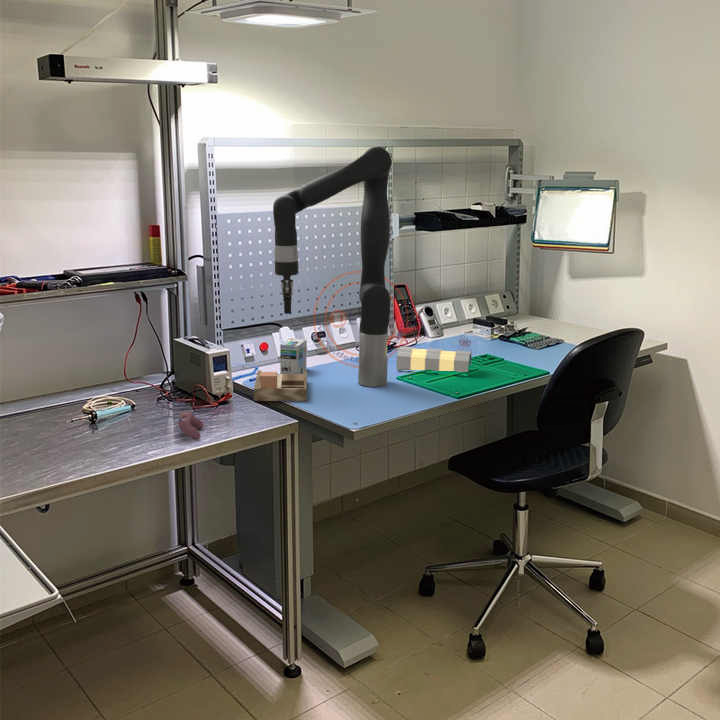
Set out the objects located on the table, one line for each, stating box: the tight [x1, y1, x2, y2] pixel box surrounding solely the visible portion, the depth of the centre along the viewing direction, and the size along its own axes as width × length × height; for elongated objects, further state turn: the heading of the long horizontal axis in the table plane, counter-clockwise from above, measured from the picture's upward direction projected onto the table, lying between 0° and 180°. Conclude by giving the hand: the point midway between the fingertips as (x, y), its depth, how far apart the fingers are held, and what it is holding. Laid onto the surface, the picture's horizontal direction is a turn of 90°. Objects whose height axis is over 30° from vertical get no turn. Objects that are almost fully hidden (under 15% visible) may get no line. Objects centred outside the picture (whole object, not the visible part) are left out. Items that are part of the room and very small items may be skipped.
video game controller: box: [177, 410, 204, 440], centre depth 214 cm, size 10×5×7 cm, turn 5°
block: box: [260, 371, 278, 388], centre depth 247 cm, size 5×5×5 cm
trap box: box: [253, 370, 308, 402], centre depth 255 cm, size 16×22×4 cm
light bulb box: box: [279, 338, 308, 374], centre depth 277 cm, size 11×7×11 cm, turn 168°
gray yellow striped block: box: [395, 334, 473, 373], centre depth 283 cm, size 25×10×13 cm, turn 77°
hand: (287, 313), depth 260 cm, fingers closed
